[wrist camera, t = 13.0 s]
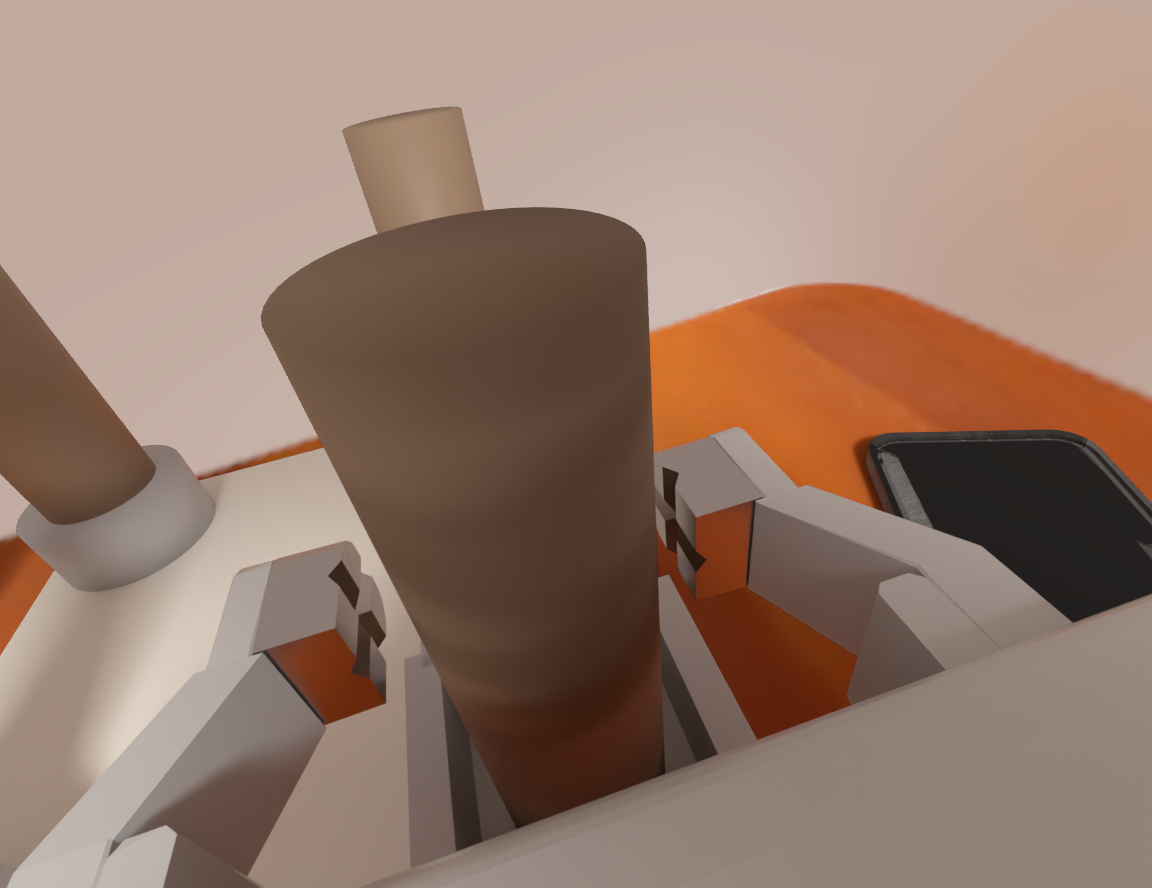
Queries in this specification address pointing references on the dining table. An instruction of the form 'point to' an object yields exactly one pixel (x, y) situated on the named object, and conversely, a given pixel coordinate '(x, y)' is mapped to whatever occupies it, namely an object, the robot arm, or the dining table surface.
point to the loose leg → (503, 475)
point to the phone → (1026, 508)
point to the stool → (201, 586)
